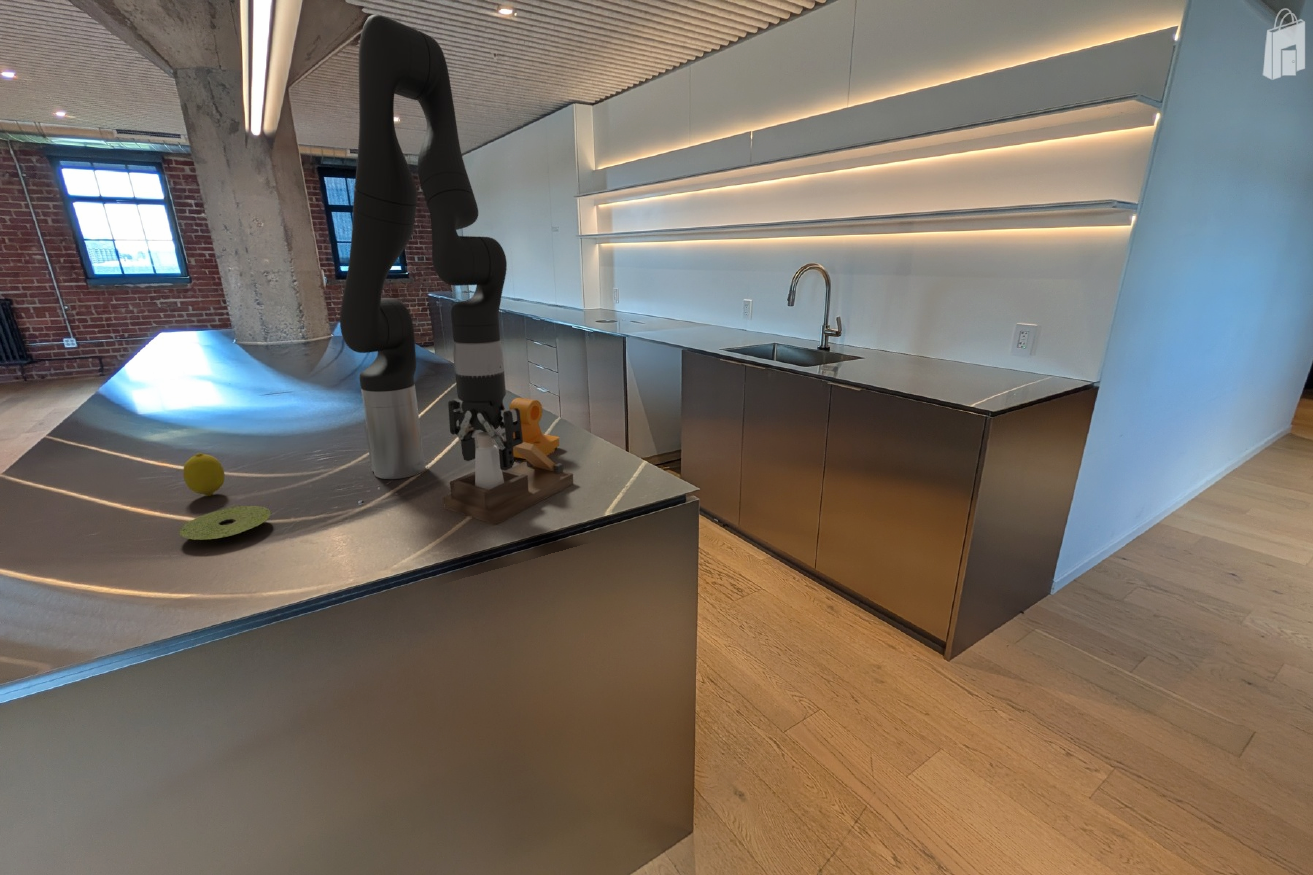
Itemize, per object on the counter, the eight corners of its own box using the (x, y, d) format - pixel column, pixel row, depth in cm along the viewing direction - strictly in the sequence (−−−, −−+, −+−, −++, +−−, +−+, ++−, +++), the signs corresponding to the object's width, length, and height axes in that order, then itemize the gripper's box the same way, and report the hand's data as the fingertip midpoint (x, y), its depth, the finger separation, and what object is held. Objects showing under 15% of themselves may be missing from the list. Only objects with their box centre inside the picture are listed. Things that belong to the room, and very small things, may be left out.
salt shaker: (511, 488, 98) (506, 429, 95) (499, 502, 93) (494, 439, 90) (482, 487, 99) (476, 427, 95) (468, 500, 94) (461, 437, 90)
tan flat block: (509, 445, 102) (512, 439, 102) (534, 467, 109) (538, 461, 109) (530, 450, 99) (533, 443, 100) (555, 472, 107) (558, 466, 107)
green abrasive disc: (262, 543, 83) (259, 531, 83) (169, 556, 79) (165, 544, 79) (280, 511, 93) (278, 501, 93) (198, 522, 89) (195, 510, 89)
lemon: (186, 504, 95) (174, 460, 93) (193, 492, 100) (182, 450, 98) (226, 498, 98) (215, 455, 95) (231, 487, 103) (221, 446, 100)
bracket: (531, 463, 116) (528, 407, 112) (503, 458, 119) (499, 403, 115) (561, 448, 125) (559, 396, 122) (534, 443, 128) (531, 392, 125)
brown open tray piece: (444, 507, 95) (441, 480, 94) (525, 471, 112) (523, 447, 110) (495, 524, 90) (493, 496, 88) (573, 483, 106) (572, 458, 105)
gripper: (529, 370, 89) (535, 465, 94) (466, 360, 96) (474, 450, 101) (494, 378, 83) (502, 480, 88) (429, 368, 90) (440, 463, 95)
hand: (488, 464), depth 94 cm, fingers open, 8 cm apart
